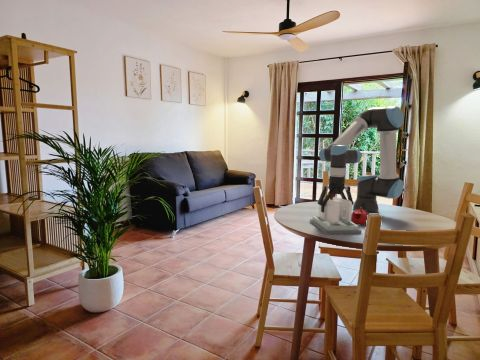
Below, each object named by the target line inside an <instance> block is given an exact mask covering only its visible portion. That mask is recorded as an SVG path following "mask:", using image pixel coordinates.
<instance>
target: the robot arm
mask: <svg viewBox="0 0 480 360" xmlns="http://www.w3.org/2000/svg"><path fill="white" fill-rule="evenodd" d="M404 120H405V119H404V112H403V110H402V109H401V108H400V107H399V106H396V105H395V106H394V105H393V106H391V105H388V106H379V107H371V108H367V109H366V110H364V111H362V112H361V113H359V114H358V115H357V116H356V117H355V118H354V119H353V120H352V123H351V124H350V125H349V126H348V127H347V128H346V129H345V130H344V131H343V132H342V133H341V134H340V135H339V136H338V137H337V138H335V140H334V141H333V142H332V143H331V144H330V145H329V146H328V147H322V148H321V149H320V150H319V153H318V157H319V159H320V160H321V161H322V162H327V163H330V164H329V179H328V185H323V186H322V191H321V192H320V196H319V198H318V201H317V205H318V206H319V205H321V212H322V218H323V219H326V206H325V205H326V203H327V202H328V200H329V199H330V200H331V197H332V196H333V195H339V196H340V198H342V199H345V200H350V201H351V202H352V211H356V210H358V209H359V210H360V207H362V209H363V210H362V211H364V212H366V213H368V214H373V213H374V214H377V213H378V212H379V205H378V201H377V197H380V198H385V199H393V200H394V199H398V198H399V197H401V194H402V193H403V190H404V187H405V186H404V181H403V180H402V179H400V175H399V174H398V173H397V133H398V131H400V128H401V127H402V126H403V125H404V122H405V121H404ZM373 128H376V132H377V133H378V134H379V168H380V169H379V171H380V172H379V174H364V175H359V176H358V179H357V190H356V199H355V201H353V197H352V196H353V195H352V193H351V186H349V185H345V181H346V177H345V176H346V165H347V164H352V165H353V164H358V163H360V161H361V160H362V152H361V151H360V149H356V148H348V147H349V146H350V145H351V144H352V143H353V142H354V141H355V140H356V139H357V138H358V137H359V136H360V134H361V133H364V132H366V131H367V130H368V129H373ZM328 190H329V191H328ZM344 190H345V193H346V195H345V193H344ZM327 191H328V192H327ZM324 198H325V199H324ZM323 199H324V200H323ZM354 209H356V210H354Z"/></svg>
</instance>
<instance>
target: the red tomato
mask: <svg viewBox="0 0 480 360" xmlns="http://www.w3.org/2000/svg"><path fill="white" fill-rule="evenodd" d="M355 210H356V209H354V210H353V211H352V214H351V222H353V223H354V224H356V225H358V226H367V225H366V220H367V215H369V213H366V212H364V211H362V210H363V209H362V207H360V210H359V209H358V210H356V211H355Z"/></svg>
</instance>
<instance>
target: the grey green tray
mask: <svg viewBox="0 0 480 360" xmlns="http://www.w3.org/2000/svg"><path fill="white" fill-rule="evenodd" d="M309 223H311V224H312V225H313V226H314V227H316V228H317V229H319V231H321V232H322V233H324V235H340V234H341V235H350V234H351V235H354V234H355V235H356V234H359V235H360V234H362V229H360V225H356V224H354V223H353V222H351V221H350V222H347V223H345V222H343V221H342V220H340V219H339V222H338V223H336V224H331V223H329V222H328V221H325V220H322V219H321V218H320V217H319V215H313V216H312V218H310V219H309Z"/></svg>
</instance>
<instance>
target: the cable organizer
mask: <svg viewBox="0 0 480 360" xmlns="http://www.w3.org/2000/svg"><path fill="white" fill-rule="evenodd" d="M324 199H325V197H324ZM324 199H323V200H324ZM325 206H326V219H323V218H322V212H321V205H319V204H318V216H319V217H320V218H321V219H322V220H325V221H328V222H329V223H331V224H336V223H338V222H339V219H340V220H342V221H343V222H345V223H347V222H350V221H351V214H352V213H353V205H352V202H351V201H350V200H348V199H347V200H345V199H342V197H341V196H340V197H339V196H333V197H332V199H331V198H330V199H329V200H328V202H327V203H326V205H325Z"/></svg>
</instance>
